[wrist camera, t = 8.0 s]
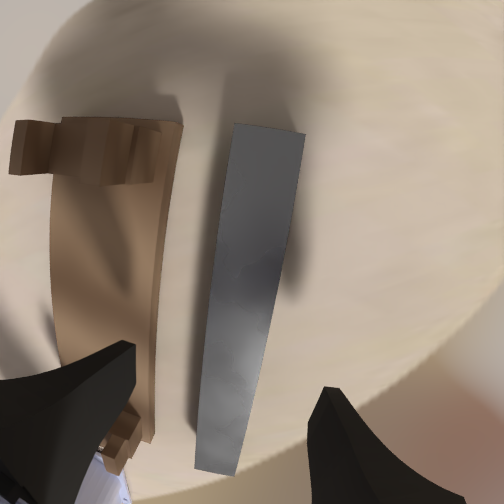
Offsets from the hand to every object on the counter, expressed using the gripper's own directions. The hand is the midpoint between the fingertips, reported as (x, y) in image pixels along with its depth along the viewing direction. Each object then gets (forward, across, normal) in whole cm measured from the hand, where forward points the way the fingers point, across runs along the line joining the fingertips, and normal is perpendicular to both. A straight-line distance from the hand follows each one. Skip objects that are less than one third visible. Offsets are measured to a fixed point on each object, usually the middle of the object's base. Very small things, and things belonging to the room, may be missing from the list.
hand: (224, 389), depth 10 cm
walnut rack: (+4, +7, 0) cm, 8 cm away
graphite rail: (+4, 0, 0) cm, 4 cm away
